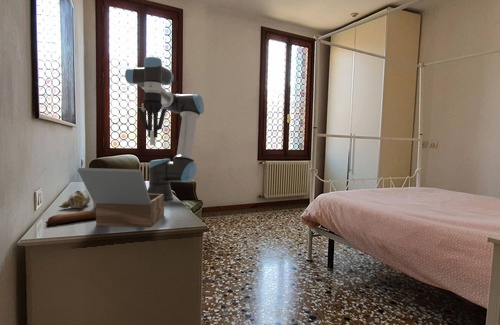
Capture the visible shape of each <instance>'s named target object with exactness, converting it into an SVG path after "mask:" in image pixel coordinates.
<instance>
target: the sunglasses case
mask: <svg viewBox="0 0 500 325" xmlns="http://www.w3.org/2000/svg"><path fill="white" fill-rule="evenodd" d="M93 219H94V220H96V211H94V210H81V211H77V212H73V213H72V212H70V213H64V214H63V213H59V214H55V215H52V216H49V218H47V220H46V221H45V224H46V227H51V226H56V225H61V224H64V223H70V222H71V223H72V222H78V221H85V220H93Z"/></svg>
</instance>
